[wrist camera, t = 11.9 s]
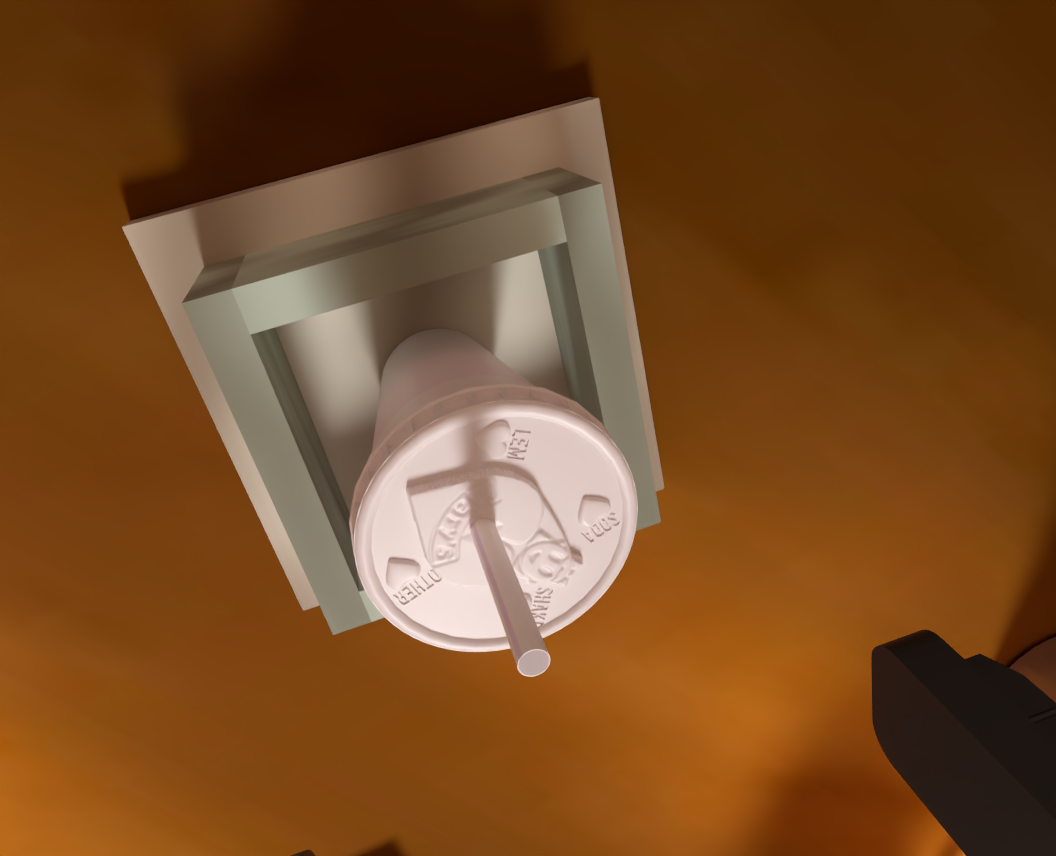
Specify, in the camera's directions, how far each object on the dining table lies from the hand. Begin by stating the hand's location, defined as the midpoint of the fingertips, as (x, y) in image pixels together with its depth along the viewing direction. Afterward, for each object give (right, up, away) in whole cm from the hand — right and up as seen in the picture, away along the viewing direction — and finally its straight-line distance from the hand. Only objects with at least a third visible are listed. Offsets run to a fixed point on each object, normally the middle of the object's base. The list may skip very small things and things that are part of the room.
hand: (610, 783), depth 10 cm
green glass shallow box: (-4, +7, +15) cm, 17 cm away
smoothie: (-4, +6, +15) cm, 17 cm away
